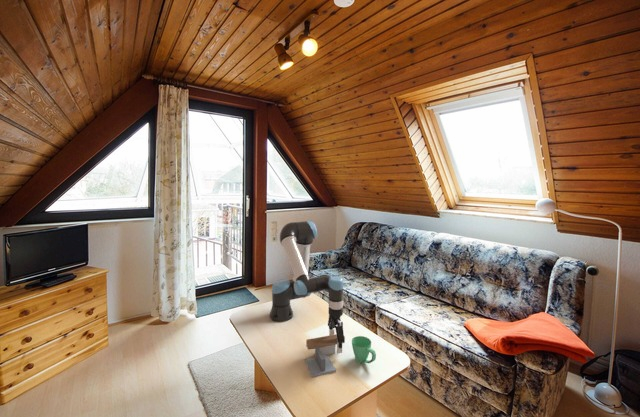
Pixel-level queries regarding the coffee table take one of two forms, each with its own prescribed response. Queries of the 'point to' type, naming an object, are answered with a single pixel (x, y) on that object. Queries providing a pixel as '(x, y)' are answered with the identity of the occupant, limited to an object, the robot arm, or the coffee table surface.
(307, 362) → the fulcrum
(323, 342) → the plank
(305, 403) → the coffee table surface
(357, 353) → the mug
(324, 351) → the post
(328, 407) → the coffee table surface
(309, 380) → the coffee table surface
